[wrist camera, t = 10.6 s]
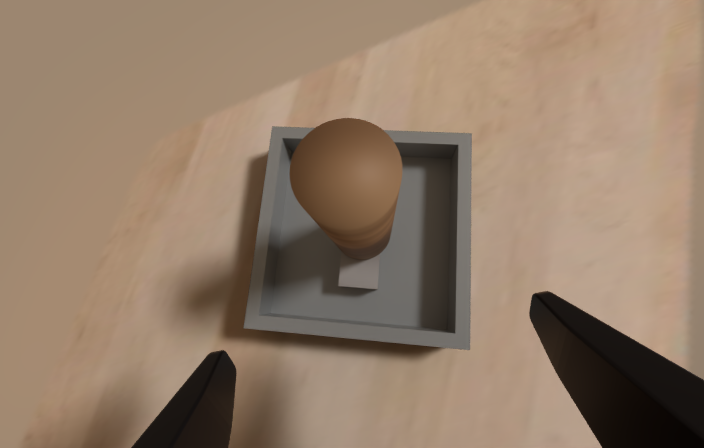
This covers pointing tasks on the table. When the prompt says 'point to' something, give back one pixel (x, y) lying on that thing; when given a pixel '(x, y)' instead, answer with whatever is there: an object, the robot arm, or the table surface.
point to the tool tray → (395, 260)
